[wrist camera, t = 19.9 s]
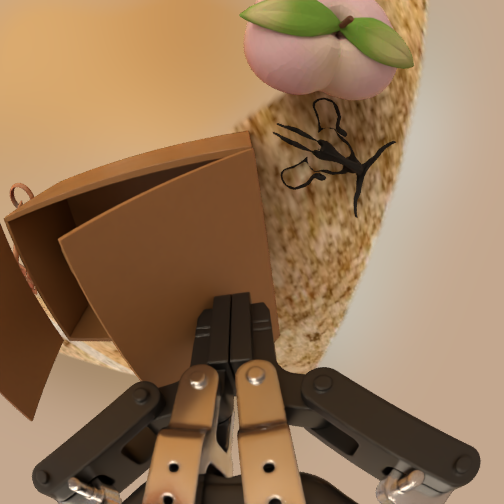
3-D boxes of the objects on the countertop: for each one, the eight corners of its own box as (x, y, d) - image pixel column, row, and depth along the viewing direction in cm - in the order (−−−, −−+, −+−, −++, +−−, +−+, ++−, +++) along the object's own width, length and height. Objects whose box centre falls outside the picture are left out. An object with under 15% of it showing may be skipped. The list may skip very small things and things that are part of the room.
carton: (248, 130, 19) (266, 217, 5) (268, 262, 25) (293, 450, 10) (53, 184, 20) (-78, 290, 5) (95, 285, 26) (25, 419, 11)
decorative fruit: (359, 16, 14) (427, -21, 5) (360, 105, 18) (437, 113, 10) (240, 4, 14) (239, -61, 5) (241, 97, 18) (238, 87, 9)
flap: (248, 148, 12) (254, 148, 12) (276, 334, 18) (280, 335, 17) (57, 239, 6) (59, 240, 6) (187, 435, 12) (191, 438, 12)
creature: (258, 171, 22) (344, 212, 22) (245, 183, 17) (354, 235, 17) (295, 86, 18) (384, 131, 19) (293, 72, 14) (408, 132, 14)
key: (38, 294, 27) (52, 198, 21) (35, 299, 26) (47, 202, 20) (7, 275, 25) (14, 176, 19) (3, 279, 24) (9, 179, 18)
